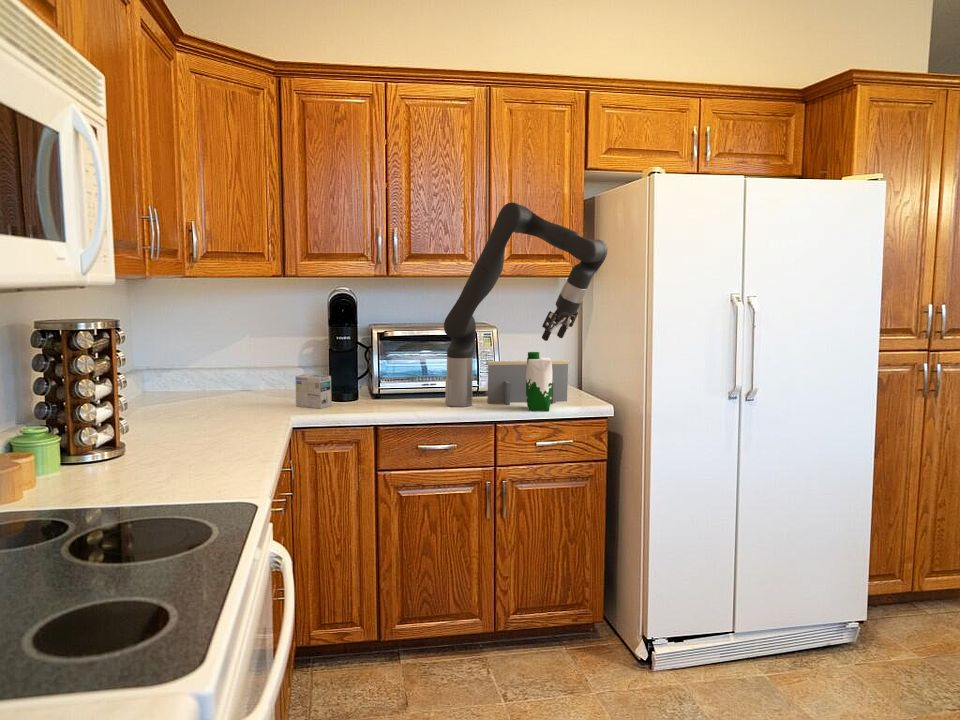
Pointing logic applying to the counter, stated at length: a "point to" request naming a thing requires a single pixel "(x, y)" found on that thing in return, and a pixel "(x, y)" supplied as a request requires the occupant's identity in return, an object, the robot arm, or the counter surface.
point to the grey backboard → (522, 381)
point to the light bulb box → (313, 391)
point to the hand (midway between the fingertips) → (551, 338)
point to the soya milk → (538, 382)
